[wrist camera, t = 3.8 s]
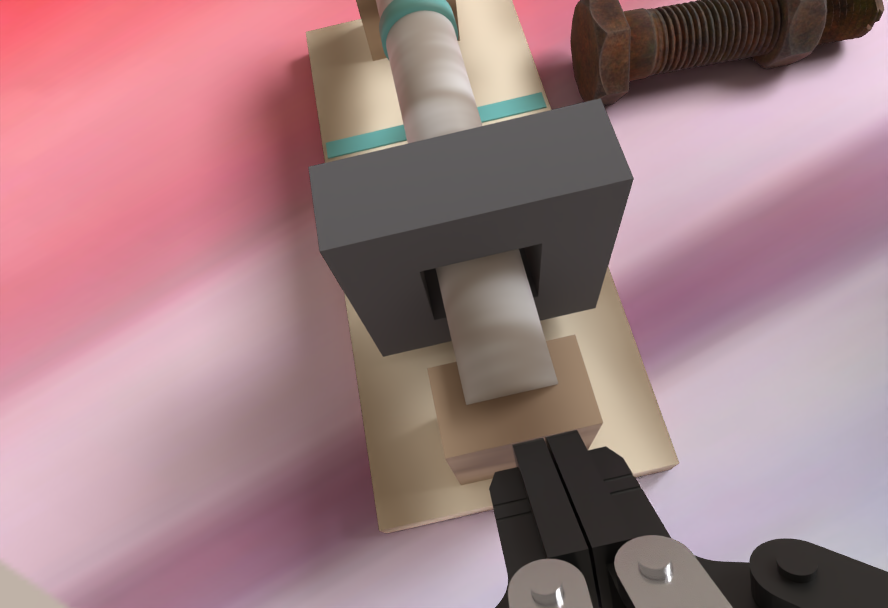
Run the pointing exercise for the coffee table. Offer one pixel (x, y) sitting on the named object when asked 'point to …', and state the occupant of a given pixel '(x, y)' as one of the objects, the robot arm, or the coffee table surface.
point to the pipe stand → (470, 278)
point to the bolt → (703, 36)
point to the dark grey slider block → (473, 217)
